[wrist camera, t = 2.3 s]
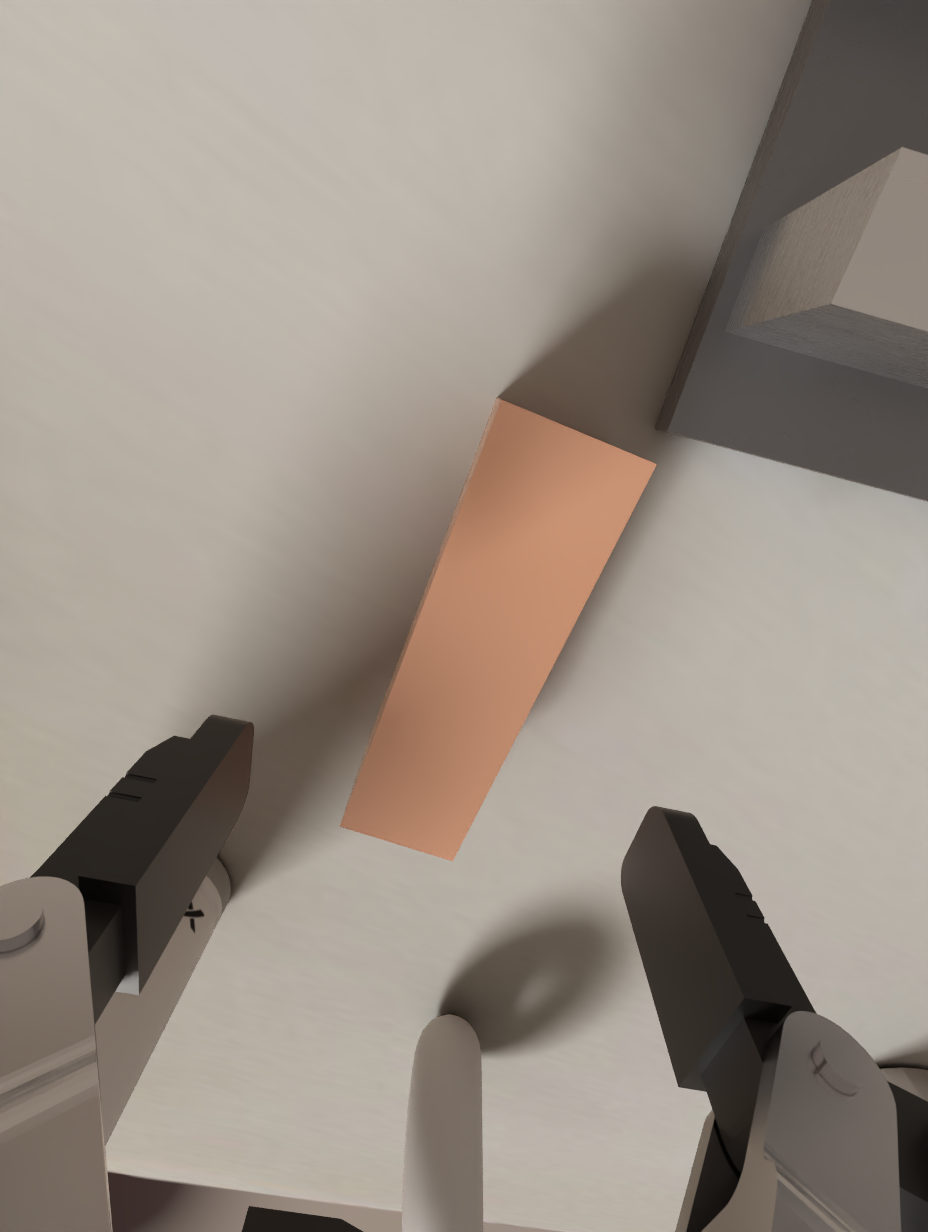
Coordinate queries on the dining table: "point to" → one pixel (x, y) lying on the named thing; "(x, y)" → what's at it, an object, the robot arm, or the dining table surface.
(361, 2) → the dining table surface
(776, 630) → the dining table surface
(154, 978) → the travel mug
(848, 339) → the aluminium rail channel
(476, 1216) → the donut
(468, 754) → the clay strip
